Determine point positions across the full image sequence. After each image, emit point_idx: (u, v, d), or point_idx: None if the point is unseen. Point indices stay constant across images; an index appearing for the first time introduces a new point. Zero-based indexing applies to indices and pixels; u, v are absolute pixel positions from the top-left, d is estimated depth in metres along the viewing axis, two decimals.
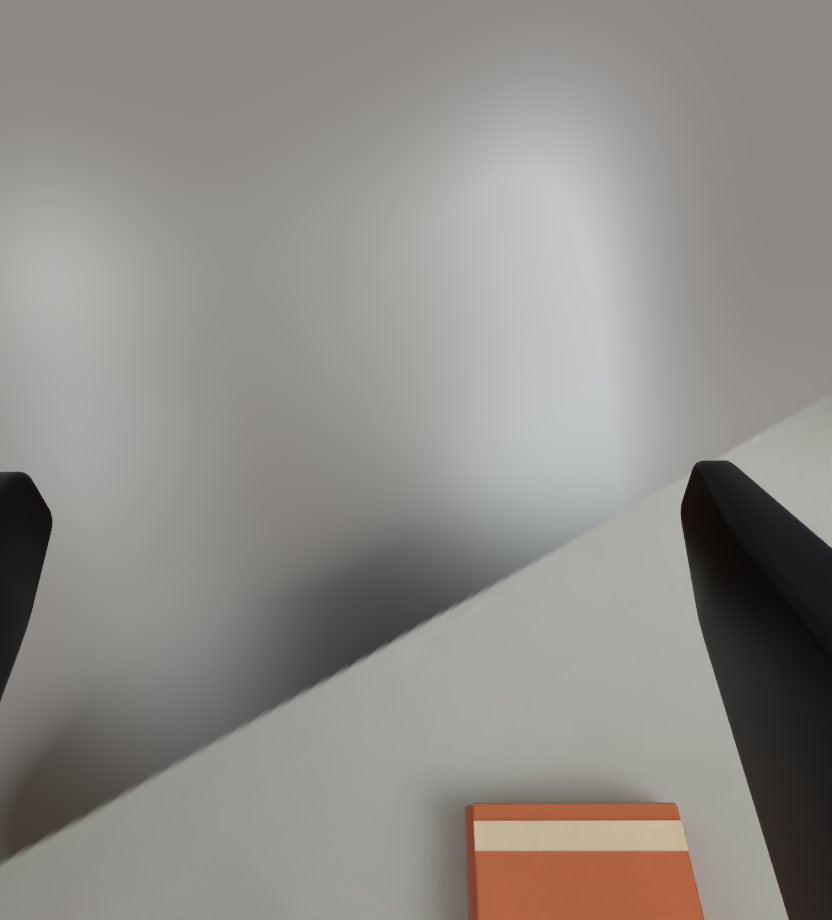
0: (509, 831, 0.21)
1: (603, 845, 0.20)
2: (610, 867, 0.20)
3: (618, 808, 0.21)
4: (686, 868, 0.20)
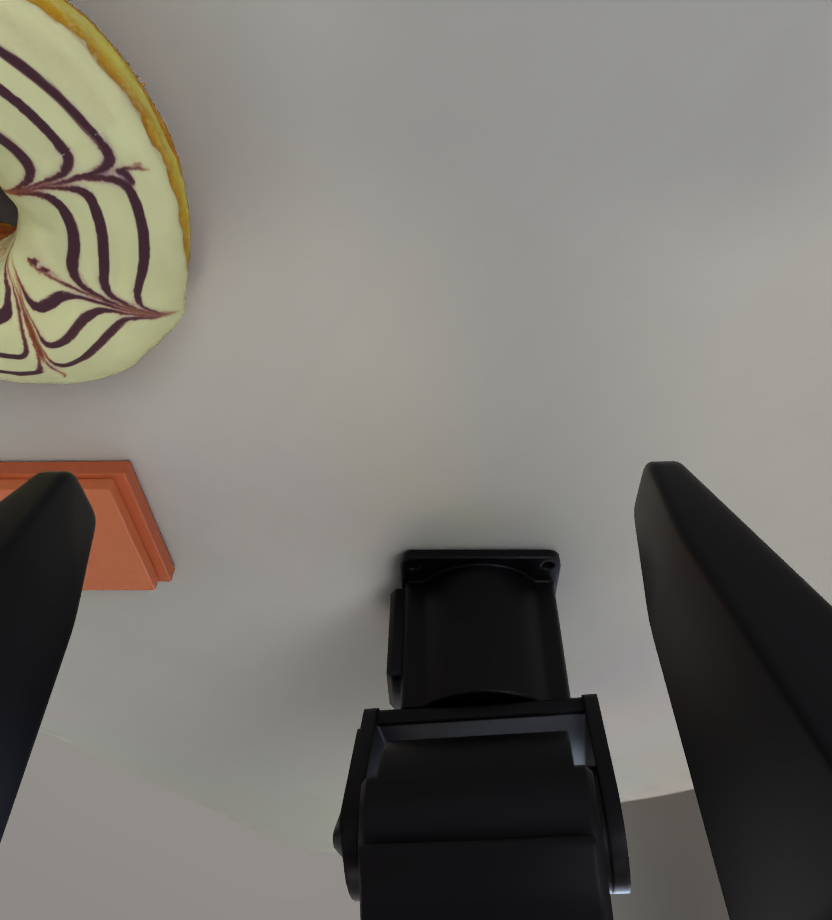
0: None
1: None
2: None
3: None
4: None
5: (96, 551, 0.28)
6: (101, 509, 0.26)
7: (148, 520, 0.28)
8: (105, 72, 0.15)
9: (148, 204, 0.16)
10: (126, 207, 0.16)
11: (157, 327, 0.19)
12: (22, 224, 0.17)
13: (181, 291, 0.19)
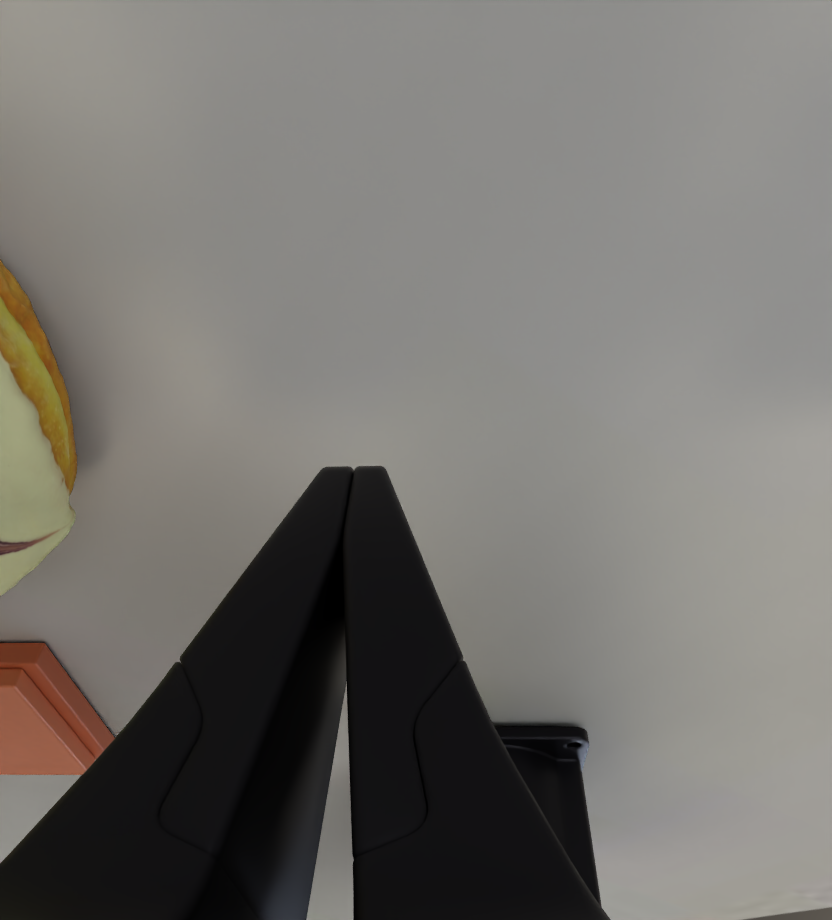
0: None
1: None
2: None
3: None
4: None
5: (10, 741, 0.22)
6: (8, 705, 0.21)
7: (74, 703, 0.22)
8: None
9: None
10: None
11: (30, 555, 0.13)
12: None
13: (59, 511, 0.13)
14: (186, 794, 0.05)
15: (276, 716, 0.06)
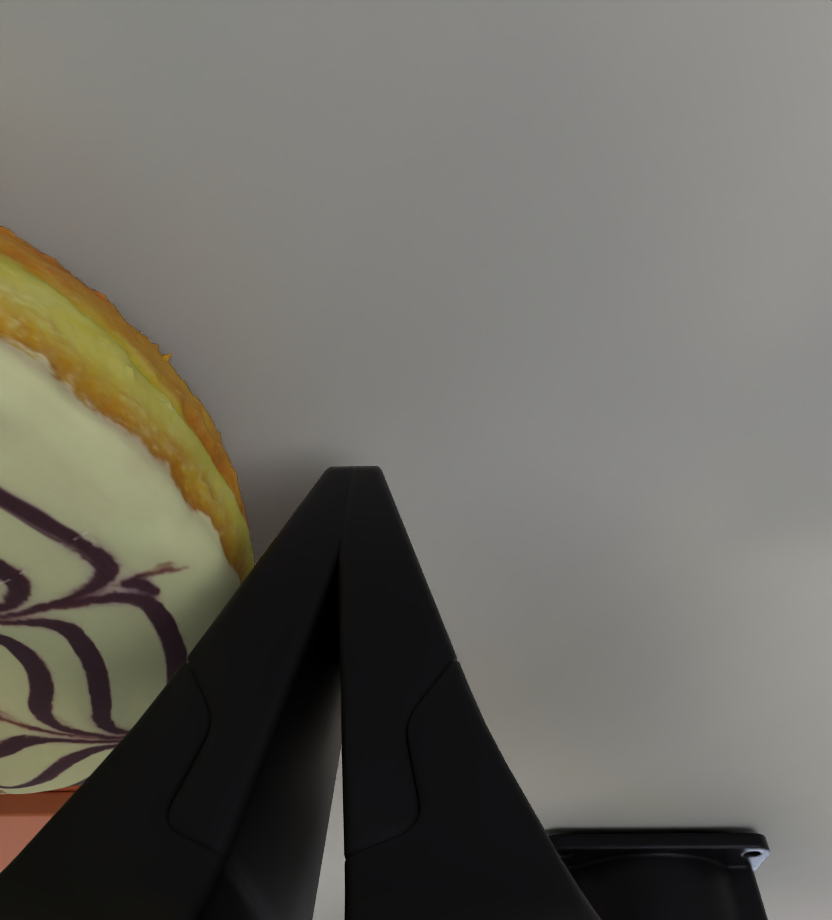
0: None
1: None
2: None
3: None
4: None
5: None
6: None
7: None
8: (93, 410, 0.07)
9: (187, 614, 0.08)
10: (143, 627, 0.08)
11: None
12: None
13: None
14: (194, 795, 0.05)
15: (283, 717, 0.06)
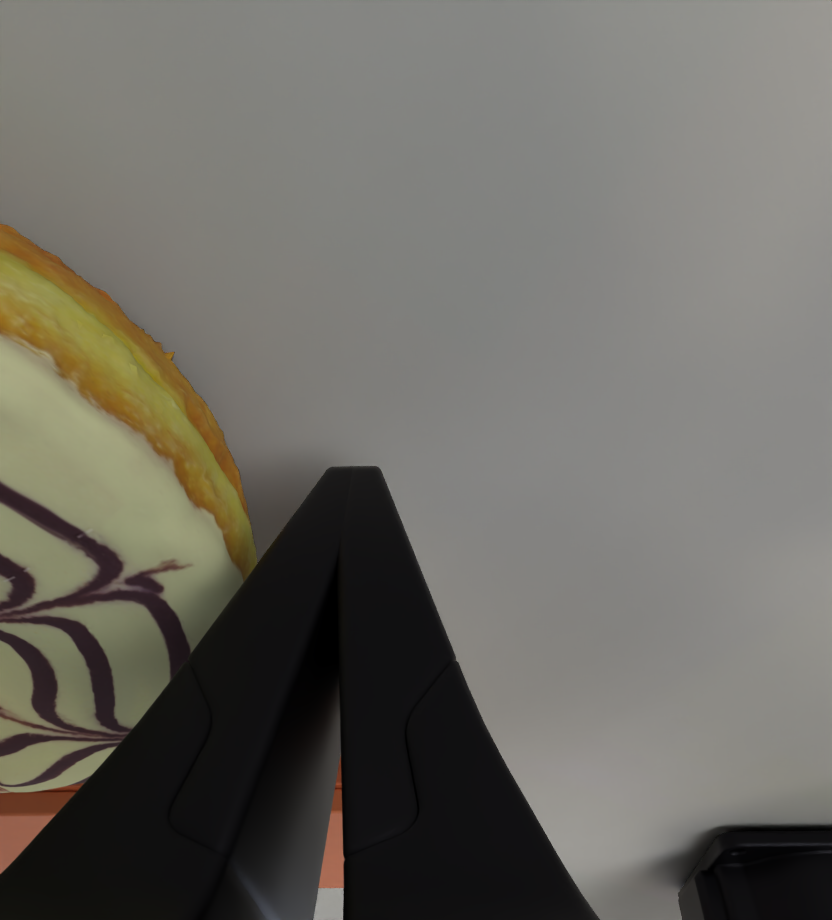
0: None
1: None
2: None
3: None
4: None
5: None
6: (334, 828, 0.18)
7: None
8: (97, 407, 0.07)
9: (190, 611, 0.08)
10: (146, 625, 0.08)
11: None
12: None
13: None
14: (196, 794, 0.05)
15: (285, 716, 0.06)
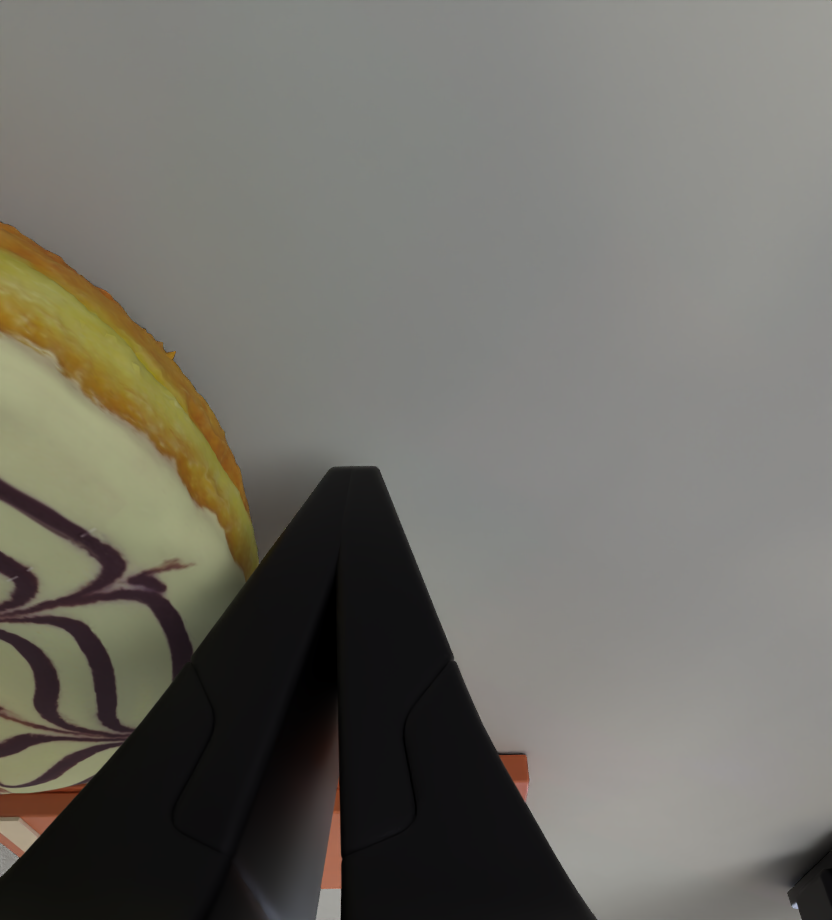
0: None
1: None
2: None
3: (4, 842, 0.19)
4: (39, 819, 0.18)
5: None
6: None
7: None
8: (100, 406, 0.07)
9: (192, 611, 0.08)
10: (149, 624, 0.08)
11: None
12: None
13: None
14: (199, 794, 0.05)
15: (288, 716, 0.06)
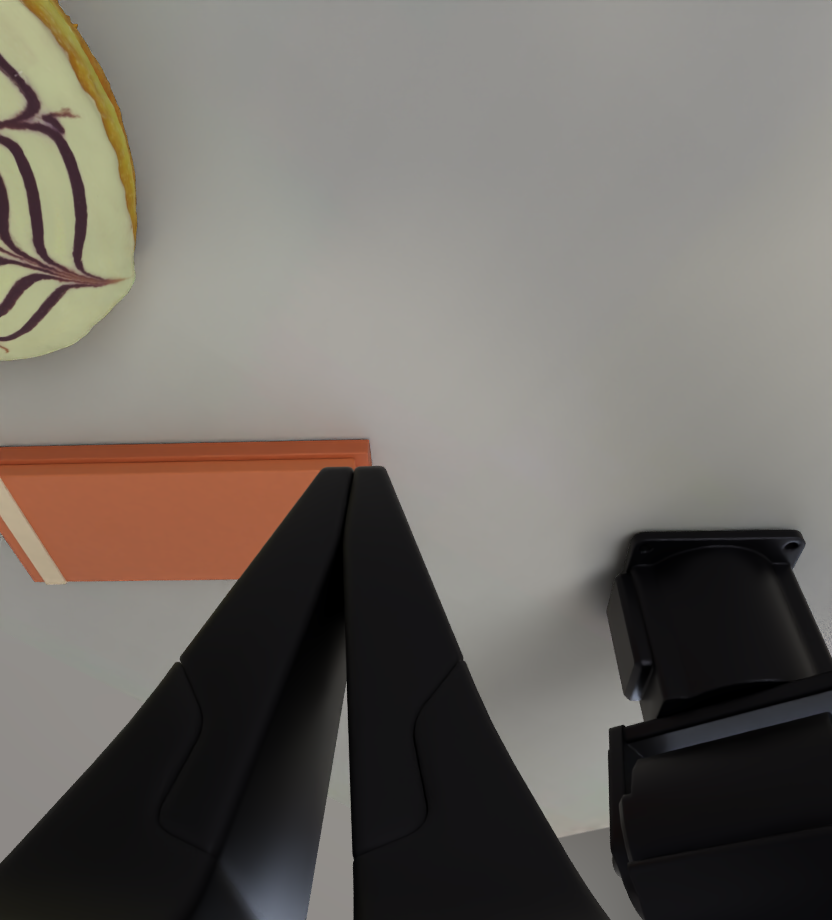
0: (43, 566, 0.28)
1: (24, 523, 0.26)
2: (38, 519, 0.26)
3: None
4: (14, 479, 0.24)
5: None
6: None
7: None
8: (24, 5, 0.13)
9: (82, 157, 0.15)
10: (57, 159, 0.15)
11: (103, 296, 0.18)
12: None
13: (127, 256, 0.17)
14: (186, 794, 0.05)
15: (276, 716, 0.06)
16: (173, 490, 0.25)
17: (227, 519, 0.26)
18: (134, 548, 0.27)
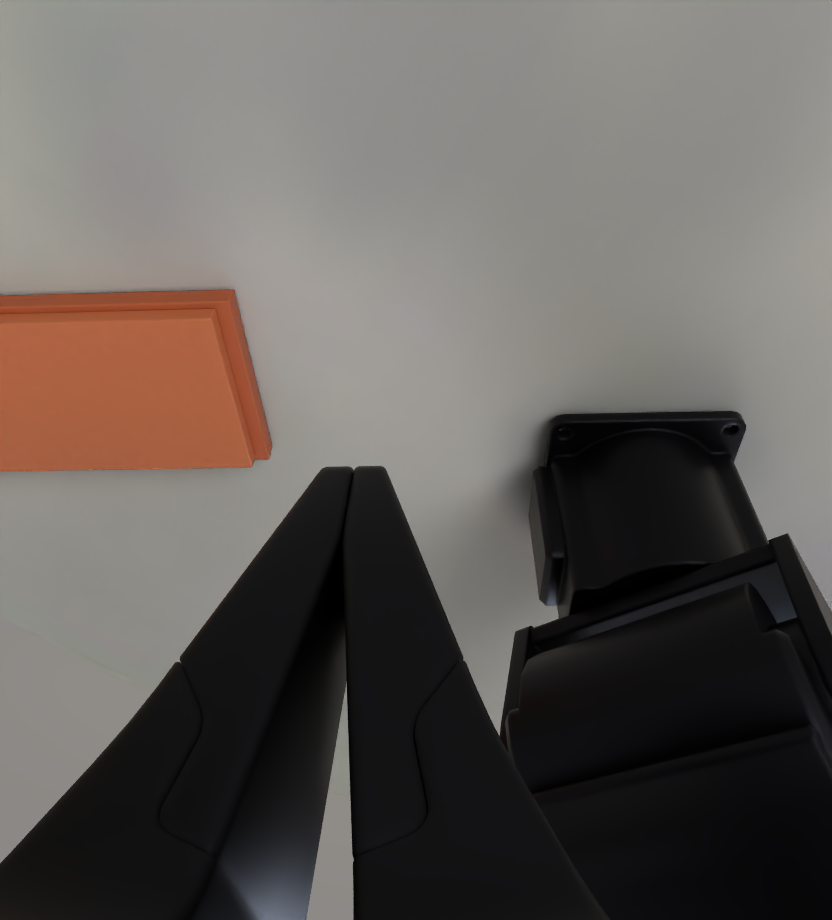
0: None
1: None
2: None
3: None
4: None
5: (186, 411, 0.23)
6: (199, 349, 0.21)
7: (250, 373, 0.23)
8: None
9: None
10: None
11: None
12: None
13: None
14: (186, 794, 0.05)
15: (276, 716, 0.06)
16: (8, 348, 0.21)
17: (78, 388, 0.22)
18: None
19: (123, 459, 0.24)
